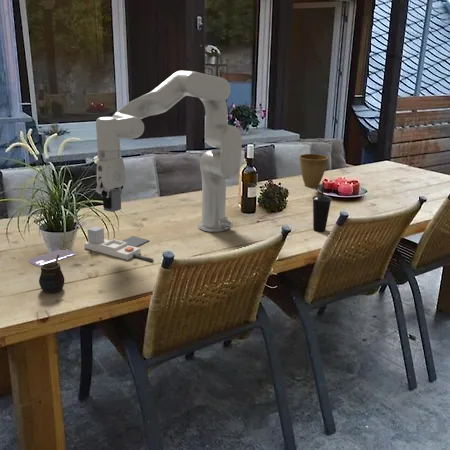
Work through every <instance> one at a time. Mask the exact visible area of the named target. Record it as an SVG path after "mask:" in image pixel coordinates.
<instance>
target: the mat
mask: <svg viewBox="0 0 450 450" xmlns="http://www.w3.org/2000/svg"><path fill="white" fill-rule="evenodd" d="M122 241H123V242H127V245H129V246H133V247H137V248H139V247H141V246H143V245H144V244H146V243H148V242H150V240H149V239H146V238H142V237H138V236H134V235H132V236H129V237H128V238H125V239H123V240H122Z"/></svg>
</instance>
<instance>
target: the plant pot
mask: <svg viewBox="0 0 450 450" xmlns="http://www.w3.org/2000/svg"><path fill="white" fill-rule="evenodd" d="M328 160H329V157H328V156H327V155H325V154H319V153H318V154H317V153H303V154H301V155H299V163H300V164H299V165H300V171H301V176H302V180H303V184H304V186H305V187H307V188H317V187H319V186H320V184H321V182H322V179H323V177H324V174H325V172H326V167H327V164H328Z"/></svg>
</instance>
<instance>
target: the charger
mask: <svg viewBox="0 0 450 450" xmlns="http://www.w3.org/2000/svg"><path fill="white" fill-rule="evenodd" d="M106 191H107V190H105V192H106ZM110 198H111V209H107V208H104V207H103V211H105V212H109V213H110V212H111V213H115V212H117V211H120V210H122V202H121V201H122V195H120V190H119V189H111V190H110Z"/></svg>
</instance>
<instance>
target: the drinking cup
mask: <svg viewBox="0 0 450 450" xmlns="http://www.w3.org/2000/svg"><path fill="white" fill-rule="evenodd" d="M324 188H325V182H322V185H321V194H317V195H314V196H312V219H313V220H312V222H313V223H312V224H313V225H312V226H313V231H314V232H317V233H324V232H326V228H327V223H328V218H329V213H330V206H331V203H332V197H330V196H328V195H325V194H324Z"/></svg>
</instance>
